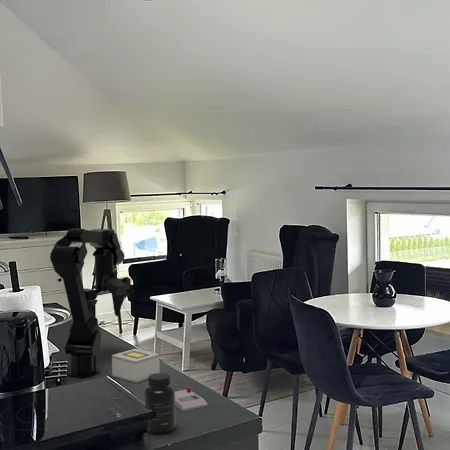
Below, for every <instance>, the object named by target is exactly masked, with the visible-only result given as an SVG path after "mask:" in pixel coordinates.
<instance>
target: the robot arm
mask: <svg viewBox="0 0 450 450" xmlns="http://www.w3.org/2000/svg"><path fill="white" fill-rule="evenodd" d="M72 244H81V245H80V246H71V245H72ZM87 244H89V246H91V247H93V248H94V249H95V250H94V251H93V253H92V257H94V271H93V272H92V273H91V275H92V276H93V277H94V280H95V281H94V282H95V284H93V285H92V288H84V285H83V284H84V283H83V279H82V275H81V274H82V273H81V272H82V271H83V267H84V265H85V258H86V256H87V254H88V249H87V246H86V245H87ZM121 248H122V246H121V244H120V241H119V237H118V234H117V233H116V231H115V229H113V228H94V229H91V230H90V229H85V228H70V229H68V230H67V232H66V234H65V235H64V236H62V237H61V238H60V239H59V240H57V241H56V242H55V243H54V246H53V248H52V250H51V252H50V256H49V257H50V258H49V260H50V262H51V264H52V267H53V271H54V272H55V273H56V274H57V275H58V276H59V277H60V278H61V279H62V282H63V285H64V289H65V295H66V297H67V302H68V306H69V310H70V316H71V320H72V323H71V326H70V328H69V330H68V331H69V332H68V333H69V335H68V338H67V340H66V344H65V347H64V352H65V354H66V355H70V371H68V373H67V375H69V376H72V377H76V378H78V379H83V378H88V377H90V376H93V375H96V374H99V373H100V371H99V370H97V356H96V354H97V353H99V352H100V350H101V349H100V348H101V341H102V331H101V328H100V325H99V320H98V318H97V316H96V310H97V309H96V304H98V301H99V300H98V299H97V298H98V296H102V295H108V294H111V298H112V299H111V300H112V304H113V305H112V306H113V310H114V311H113V312H114V316H116V317H119V315H120V312H121V310H122V306H123V303H124V301H125V299H126V298H128V296H130V295H131V294H130V293H133V292H134V289H133V288H134V287H133V285H132V283H131V282H132V281H131V278H130V277H129V276H127V277H123V278H118V273H117V271H114V269H115V268H114V267H115V266H119V265H121V264H122V263H123V262H124V261H125V253H124V251H123V250H122V249H121Z"/></svg>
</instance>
